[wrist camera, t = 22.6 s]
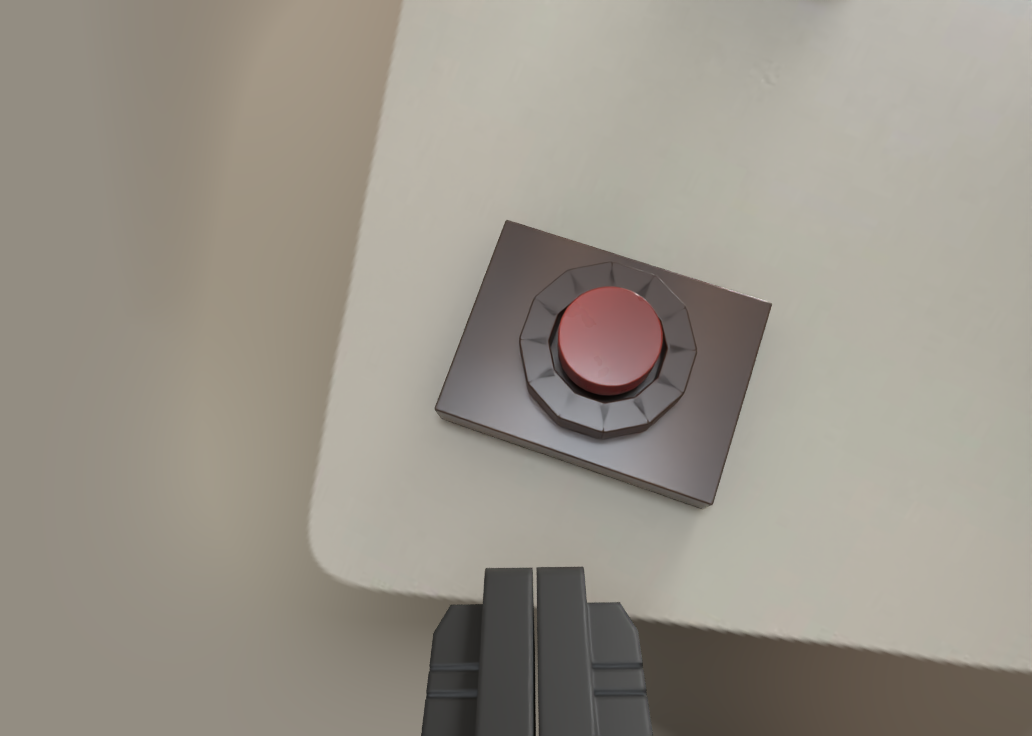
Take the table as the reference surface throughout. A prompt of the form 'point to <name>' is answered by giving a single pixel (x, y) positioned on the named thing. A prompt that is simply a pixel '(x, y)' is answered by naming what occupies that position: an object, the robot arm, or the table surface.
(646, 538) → the table surface
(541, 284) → the button block
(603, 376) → the button
